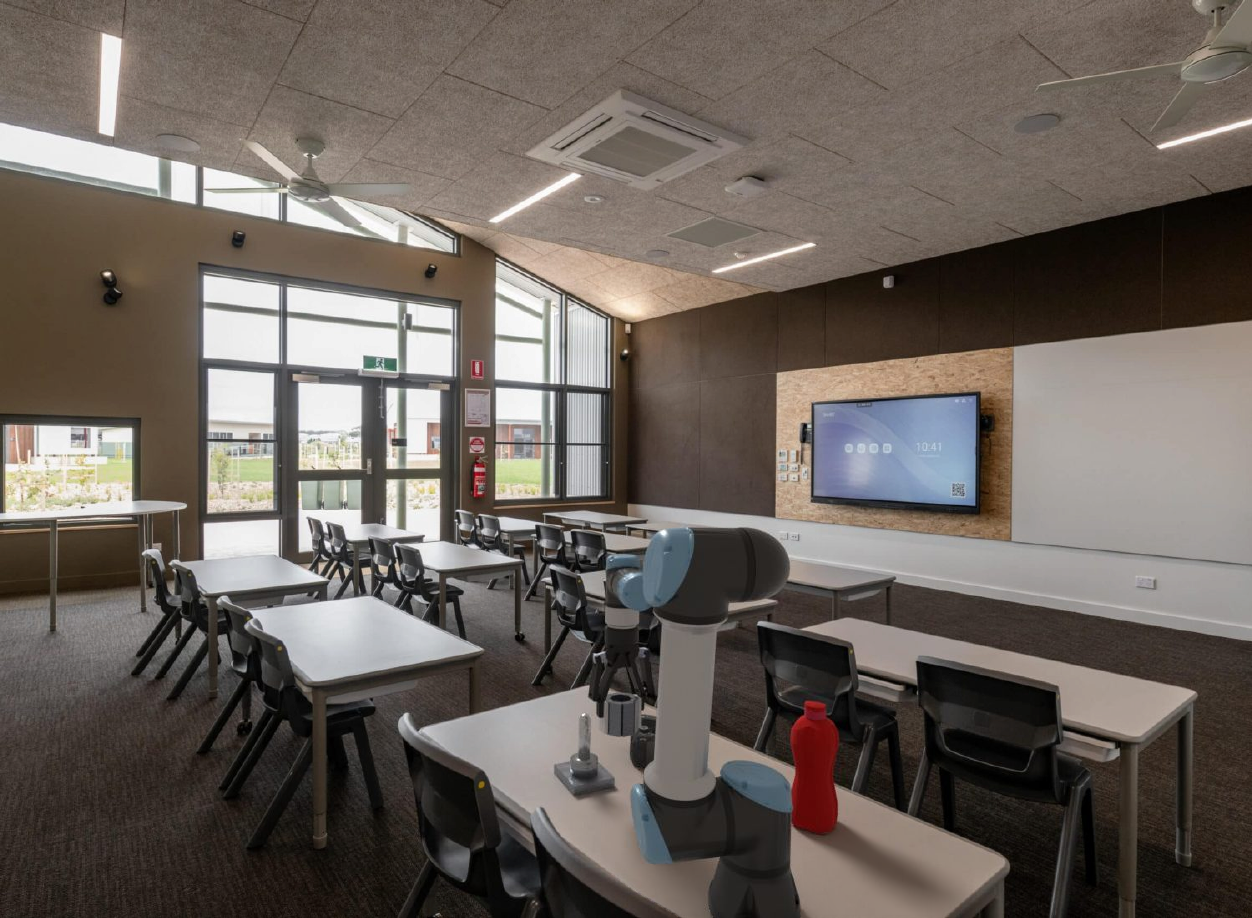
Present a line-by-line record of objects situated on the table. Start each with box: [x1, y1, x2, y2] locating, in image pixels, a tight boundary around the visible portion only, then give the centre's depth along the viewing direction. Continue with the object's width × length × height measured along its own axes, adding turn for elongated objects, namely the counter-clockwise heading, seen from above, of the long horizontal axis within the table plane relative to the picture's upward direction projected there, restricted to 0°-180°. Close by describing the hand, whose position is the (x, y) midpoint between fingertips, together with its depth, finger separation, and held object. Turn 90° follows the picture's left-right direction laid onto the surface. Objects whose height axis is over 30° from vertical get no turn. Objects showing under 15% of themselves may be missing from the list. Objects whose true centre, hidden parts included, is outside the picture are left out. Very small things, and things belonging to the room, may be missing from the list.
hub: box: [605, 692, 639, 738], centre depth 151 cm, size 8×8×7 cm
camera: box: [629, 713, 657, 768], centre depth 172 cm, size 13×10×10 cm
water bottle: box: [789, 700, 840, 835], centre depth 143 cm, size 9×11×25 cm
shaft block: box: [553, 712, 616, 797], centre depth 159 cm, size 12×10×15 cm
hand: (620, 728), depth 151 cm, fingers closed on hub, 7 cm apart
